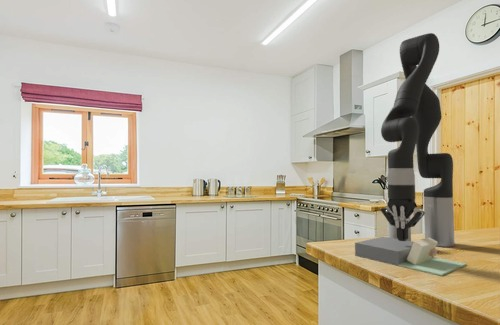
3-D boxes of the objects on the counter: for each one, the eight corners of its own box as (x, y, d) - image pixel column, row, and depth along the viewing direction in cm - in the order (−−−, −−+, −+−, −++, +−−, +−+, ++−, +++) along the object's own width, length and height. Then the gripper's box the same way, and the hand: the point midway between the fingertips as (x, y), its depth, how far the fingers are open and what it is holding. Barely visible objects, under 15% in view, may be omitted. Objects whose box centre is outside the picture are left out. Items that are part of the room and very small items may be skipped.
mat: (425, 256, 95) (425, 255, 95) (466, 264, 86) (466, 263, 86) (398, 265, 86) (398, 264, 86) (441, 276, 77) (441, 274, 77)
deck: (383, 248, 106) (382, 236, 107) (425, 256, 95) (425, 243, 95) (355, 255, 97) (354, 242, 97) (398, 265, 86) (398, 251, 86)
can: (414, 249, 105) (413, 214, 105) (390, 248, 106) (389, 213, 107) (407, 244, 112) (406, 211, 112) (385, 243, 113) (384, 211, 114)
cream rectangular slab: (429, 237, 91) (441, 243, 88) (421, 254, 92) (433, 261, 90) (414, 241, 85) (426, 248, 83) (406, 259, 87) (418, 267, 84)
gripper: (429, 183, 90) (431, 242, 90) (387, 182, 101) (388, 235, 101) (416, 184, 86) (418, 246, 85) (374, 183, 97) (375, 238, 96)
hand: (402, 240), depth 93 cm, fingers closed
